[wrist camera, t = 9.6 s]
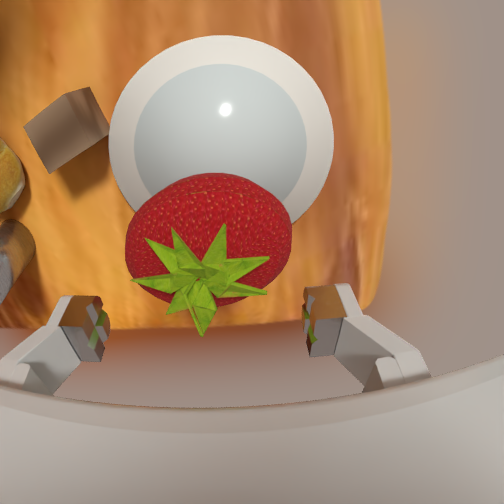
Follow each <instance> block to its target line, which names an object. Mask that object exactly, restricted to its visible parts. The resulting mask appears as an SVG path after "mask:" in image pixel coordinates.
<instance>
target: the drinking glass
mask: <svg viewBox="0 0 504 504" xmlns="http://www.w3.org/2000/svg"><path fill="white" fill-rule="evenodd" d="M35 249H36V247H35V241H34V239H33V236H32V234H31V233H30V231H29V230H28V229H27V228H26V227H25V226H24V225H23V224H22V223H20V222H19V221H16V220H12V219H9V220H6V221H4V222H3V223H2V224H1V225H0V304H1V303H2V301H3V300H4V298H5V297H6V295H7V293H8V292H9V290H10V289H11V287H12V286H13V284H14V283H15V282H16V280H17V279H18V277H19V276H20V274H21V273H22V271H23V270H24V269H25V267H26V266H27V264H28V263H29V262H30V260H31V259H32V258H33V256H34V254H35Z"/></svg>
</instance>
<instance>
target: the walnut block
mask: <svg viewBox="0 0 504 504" xmlns="http://www.w3.org/2000/svg"><path fill="white" fill-rule="evenodd" d="M24 129H25V131H26V133H27V135H28V136H29V138H30V140H31V142H32V144H33V146H34V148H35V150H36V151H37V153H38V155H39V157H40V159H41V160H42V162H43V164H44V166H45V167H46V169H47V171H48V173H49V174H51V173H52V172H53V171H55V170H56V169H58V168H59V167H60V166H62V165H63V164H65V163H66V162H68V161H69V160H71V159H72V158H74V157H75V156H77V155H78V154H80V153H81V152H83V151H85V150H86V149H88V148H89V147H91V146H92V145H94V144H95V143H97V142H98V141H99V140H101V139H102V138H104V137H105V136H106V135H108V134H109V130H110V126H109V124H108V122H107V120H106V118H105V117H104V115H103V113H102V111H101V109H100V107H99V105H98V103H97V101H96V99H95V97H94V95H93V93H92V91H91V89H90V87H87V88H83V89H79V90H76V91H72V92H69V93H65V94H64V95H62V96H61V97H60V98H58V99H57V100H56V101H54V102H53V103H52V104H50V105H49V106H48V107H47V108H45V109H44V110H43V111H42V112H40V113H39V114H38V115H37V116H35V117H34V118H33V119H32V120H31V121H30V122H28V123H27V124H26V125H25V126H24Z"/></svg>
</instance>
